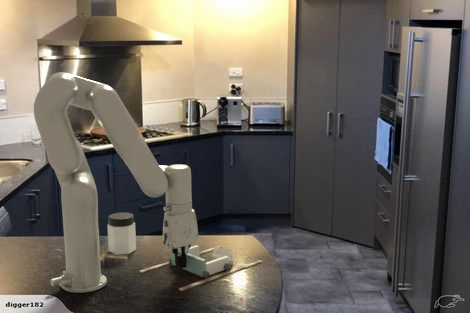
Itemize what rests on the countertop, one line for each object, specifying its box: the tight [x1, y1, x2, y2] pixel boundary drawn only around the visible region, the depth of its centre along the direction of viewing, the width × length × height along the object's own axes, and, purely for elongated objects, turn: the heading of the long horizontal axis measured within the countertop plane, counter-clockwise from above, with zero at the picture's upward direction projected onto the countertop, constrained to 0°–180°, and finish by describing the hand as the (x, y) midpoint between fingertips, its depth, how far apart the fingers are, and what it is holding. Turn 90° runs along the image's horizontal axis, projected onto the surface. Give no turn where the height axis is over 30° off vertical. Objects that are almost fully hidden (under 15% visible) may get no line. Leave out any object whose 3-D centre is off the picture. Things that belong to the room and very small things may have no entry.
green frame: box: [168, 244, 232, 279], centre depth 190 cm, size 11×17×5 cm, turn 43°
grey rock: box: [211, 246, 233, 266], centre depth 193 cm, size 10×6×6 cm, turn 174°
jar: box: [107, 212, 137, 256], centre depth 205 cm, size 9×8×12 cm
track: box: [139, 245, 263, 292], centre depth 191 cm, size 32×20×1 cm, turn 133°
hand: (180, 266), depth 185 cm, fingers closed
